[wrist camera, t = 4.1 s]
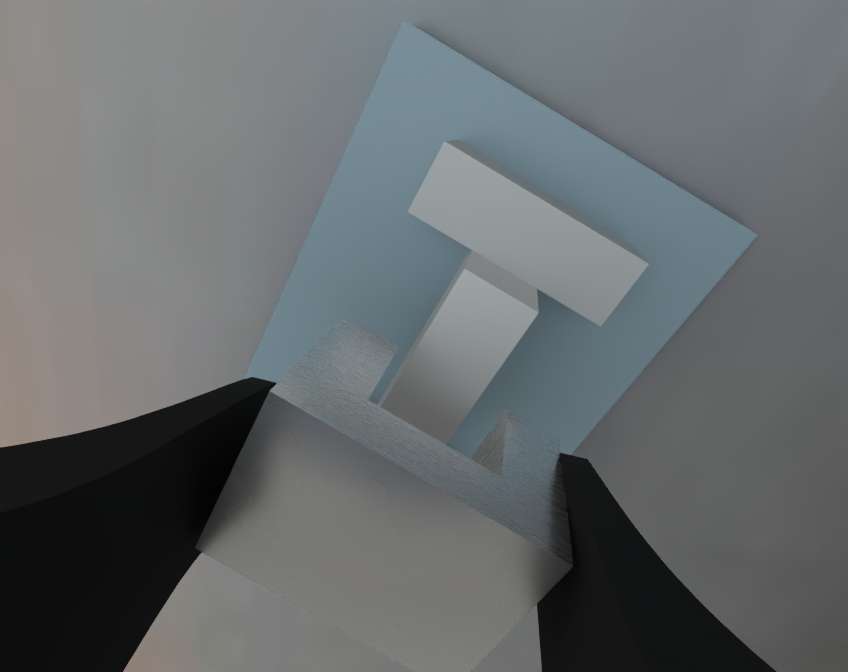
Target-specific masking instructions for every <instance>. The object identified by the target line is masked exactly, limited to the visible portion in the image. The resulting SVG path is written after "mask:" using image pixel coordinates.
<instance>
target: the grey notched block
mask: <svg viewBox="0 0 848 672" xmlns="http://www.w3.org/2000/svg"><path fill="white" fill-rule="evenodd" d="M398 348H399V346H397V345H396V344H394V343H392V342H391V341H389V340H387V339H385V338H384V337H382V336H380V335H379V334H377V333H375V332H374V331H372V330H370V329H368V328H367V327H365V326H363V325H362V324H360V323H358V322H356V321H355V320H353V319H351V318H350V317H348V316H346V315H345V316H344V317H343V318H342V319H341V320H340V321H339V322H338V323H337V324H336V325H335V326H334V327H333V328H332V329H331V330H330V331H329V332H328V333H327V334H326V335H325V336H324V337H323V338H322V339H321V340H320V341H319V342H318V343H317V344H316V345H315V346H314V347H313V348H312V349H311V350H310V351H309V352H308V353H307V354H306V355H305V356H304V357H303V358H302V359H301V360H300V361H299V362H298V363H297V364H296V365H295V366H294V367H293V368H292V369H291V370H290V371H289V372H288V373H287V374H286V375H285V376H284V377H283V378H282V379H281V380H280V381H279V382H278V383H277V384H276V385H275V386H274V387H273V388H272V389H271V390H270V391H269V393H268V395H267V397H266V399H265V402H264V404H263V406H262V408H261V410H260V412H259V414H258V416H257V418H256V420H255V423H254V425H253V427H252V429H251V431H250V433H249V435H248V437H247V439H246V441H245V444H244V446H243V448H242V450H241V452H240V454H239V456H238V458H237V460H236V463H235V465H234V467H233V469H232V471H231V473H230V475H229V477H228V479H227V481H226V484H225V486H224V488H223V490H222V492H221V494H220V496H219V498H218V500H217V502H216V505H215V507H214V509H213V511H212V513H211V515H210V517H209V519H208V521H207V524H206V526H205V528H204V530H203V532H202V534H201V536H200V538H199V540H198V542H197V545H196V547H195V548H196V549H198V550H199V551H201V552H203V553H205V554H207V555H208V556H210V557H212V558H214V559H215V560H217V561H219V562H221V563H222V564H224V565H226V566H228V567H230V568H231V569H233V570H235V571H237V572H238V573H240V574H242V575H244V576H245V577H247V578H249V579H251V580H253V581H254V582H256V583H258V584H260V585H261V586H263V587H265V588H267V589H269V590H270V591H272V592H274V593H276V594H277V595H279V596H281V597H283V598H284V599H286V600H288V601H290V602H292V603H293V604H295V605H297V606H299V607H300V608H302V609H304V610H306V611H307V612H309V613H311V614H313V615H315V616H316V617H318V618H320V619H322V620H323V621H325V622H327V623H329V624H331V625H332V626H334V627H336V628H338V629H339V630H341V631H343V632H345V633H346V634H348V635H350V636H352V637H354V638H355V639H357V640H359V641H361V642H362V643H364V644H366V645H368V646H369V647H371V648H373V649H375V650H377V651H378V652H380V653H382V654H384V655H385V656H387V657H389V658H391V659H393V660H394V661H396V662H398V663H400V664H401V665H403V666H405V667H407V668H408V669H410V670H412V671H414V672H471V670H472V669H473V668H474V667H475V666H476V665H477V664H478V663H479V662H480V661H481V660H482V659H483V658H484V657H485V656H486V655H487V654H488V653H489V652H490V651H491V650H492V649H493V648H494V647H495V646H496V645H497V644H498V643H499V642H500V641H501V640H502V639H503V638H504V637H505V636H506V635H507V634H508V633H509V632H510V631H511V630H512V629H513V628H514V627H515V626H516V625H517V623H518V622H519V621H520V620H521V619H522V618H523V617H524V616H525V615H526V614H527V613H528V612H529V611H530V610H531V609H532V608H533V607H534V606H535V605H536V604H537V603H538V602H539V601H540V600H541V599H542V598H543V597H544V596H545V595H546V594H547V593H548V592H549V591H550V590H551V589H552V588H553V587H554V586H555V585H556V584H557V583H558V582H559V581H560V580H561V579H562V578H563V576H564V575H565V574H566V573H567V572H568V571H569V570H570V569H571V568H572V567H573V558H572V549H571V540H570V531H569V522H568V513H567V503H566V495H565V490H564V485H563V480H562V470H561V461H560V453H561V449H560V440H558V439H556V438H555V437H553V436H551V435H550V434H548V433H546V432H544V431H543V430H541V429H539V428H538V427H536V426H534V425H532V424H531V423H529V422H527V421H526V420H524V419H522V418H521V417H519V416H517V415H515V414H514V413H512V412H510V411H509V410H507V409H506V411H505V412H504V413H503V415H502V416H501V417H500V419H499V420H498V422H497V423H496V424H495V426H494V427H493V428H492V430H491V431H490V432H489V434H488V435H487V436H486V438H485V439H484V440H483V442H482V443H481V444H480V446H479V447H478V449H477V450H476V451H475V453H474V454H473V455H472V457H471V458H468V457H466V456H464V455H463V454H461V453H459V452H457V451H456V450H454V449H452V448H451V447H449V446H447V445H445V444H444V443H442V442H440V441H439V440H437V439H435V438H433V437H432V436H430V435H428V434H426V433H425V432H423V431H421V430H420V429H418V428H416V427H414V426H413V425H411V424H409V423H408V422H406V421H404V420H402V419H401V418H399V417H397V416H395V415H394V414H392V413H390V412H389V411H387V410H385V409H383V408H382V407H380V406H378V405H377V404H375V403H373V402H371V401H370V400H368V399H369V398H370V396H371V394H372V392H373V391H374V389H375V387H376V386H377V384H378V382H379V380H380V379H381V377H382V375H383V374H384V372H385V370H386V368H387V367H388V365H389V363H390V362H391V360H392V358H393V357H394V355H395V353H396V351H397V350H398Z"/></svg>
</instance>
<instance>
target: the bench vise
mask: <svg viewBox="0 0 848 672" xmlns="http://www.w3.org/2000/svg"><path fill="white" fill-rule="evenodd" d="M757 236H758V234H756V233H755V232H753V231H751V230H750V229H748V228H746V227H745V226H743V225H741V224H740V223H738V222H736V221H735V220H733V219H731V218H730V217H728V216H726V215H725V214H723V213H722V212H720V211H718V210H717V209H715V208H713V207H712V206H710V205H708V204H707V203H705V202H703V201H702V200H700V199H698V198H697V197H695V196H694V195H692V194H690V193H689V192H687V191H685V190H684V189H682V188H680V187H679V186H677V185H675V184H674V183H672V182H670V181H669V180H667V179H665V178H664V177H662V176H661V175H659V174H657V173H656V172H654V171H652V170H651V169H649V168H647V167H646V166H644V165H642V164H641V163H639V162H637V161H636V160H634V159H633V158H631V157H629V156H628V155H626V154H624V153H623V152H621V151H619V150H618V149H616V148H614V147H613V146H611V145H609V144H608V143H606V142H605V141H603V140H601V139H600V138H598V137H596V136H595V135H593V134H591V133H590V132H588V131H586V130H585V129H583V128H581V127H580V126H578V125H576V124H575V123H573V122H572V121H570V120H568V119H567V118H565V117H563V116H562V115H560V114H558V113H557V112H555V111H553V110H552V109H550V108H548V107H547V106H545V105H544V104H542V103H540V102H539V101H537V100H535V99H534V98H532V97H530V96H529V95H527V94H525V93H524V92H522V91H520V90H519V89H517V88H516V87H514V86H512V85H511V84H509V83H507V82H506V81H504V80H502V79H501V78H499V77H497V76H496V75H494V74H492V73H491V72H489V71H487V70H486V69H484V68H483V67H481V66H479V65H478V64H476V63H474V62H473V61H471V60H469V59H468V58H466V57H464V56H463V55H461V54H459V53H458V52H456V51H455V50H453V49H451V48H450V47H448V46H446V45H445V44H443V43H441V42H440V41H438V40H436V39H435V38H433V37H431V36H430V35H428V34H426V33H425V32H423V31H422V30H420V29H418V28H417V27H415V26H413V25H412V24H410V23H408V22H407V21H405V20H403V21H402V23H401V25H400V28H399V30H398V32H397V34H396V37H395V39H394V41H393V43H392V46H391V48H390V50H389V52H388V55H387V57H386V59H385V61H384V64H383V66H382V68H381V71H380V73H379V75H378V77H377V80H376V82H375V84H374V86H373V89H372V91H371V93H370V95H369V98H368V100H367V102H366V104H365V107H364V109H363V111H362V113H361V116H360V118H359V120H358V122H357V125H356V127H355V129H354V131H353V134H352V136H351V138H350V140H349V143H348V145H347V147H346V149H345V152H344V154H343V156H342V158H341V161H340V163H339V165H338V167H337V170H336V172H335V174H334V176H333V179H332V181H331V183H330V186H329V188H328V190H327V192H326V195H325V197H324V199H323V201H322V204H321V206H320V208H319V210H318V213H317V215H316V217H315V219H314V222H313V224H312V226H311V228H310V231H309V233H308V235H307V237H306V240H305V242H304V244H303V246H302V249H301V251H300V253H299V255H298V258H297V260H296V262H295V264H294V267H293V269H292V271H291V273H290V276H289V278H288V280H287V282H286V285H285V287H284V289H283V291H282V294H281V296H280V298H279V301H278V303H277V305H276V307H275V310H274V312H273V314H272V316H271V319H270V321H269V323H268V325H267V328H266V330H265V332H264V334H263V337H262V339H261V341H260V343H259V346H258V348H257V350H256V352H255V355H254V357H253V359H252V361H251V364H250V366H249V368H248V370H247V373H246V375H245V377H244V379H247V378H250V377H255V378H259V379H263V380H267V381H271V382H276V384H277V383H278V382H279V381H280V380H281V379H282V378H283V377H284V376H285V375H286V374H287V373H288V372H289V371H290V370H291V369H292V368H293V367H294V366H295V365H296V364H297V363H298V362H299V361H300V360H301V359H302V358H303V357H304V356H305V355H306V354H307V353H308V352H309V351H310V350H311V349H312V348H313V347H314V346H315V345H316V344H317V343H318V342H319V341H320V340H321V339H322V338H323V337H324V336H325V335H326V334H327V333H328V332H329V331H330V330H331V329H332V328H333V327H334V326H335V325H336V324H337V323H338V322H339V321H340V320H341V319H342V318H343V317H344V316H345V315H346V316H348V317H350V318H351V319H353V320H355V321H356V322H358V323H360V324H362V325H363V326H365V327H367V328H368V329H370V330H372V331H374V332H375V333H377V334H379V335H380V336H382V337H384V338H385V339H387V340H389V341H391V342H392V343H394V344H396V345H397V346H399V348H398V350H397V351H396V353H395V355H394V357H393V358H392V360H391V362H390V363H389V365H388V367H387V368H386V370H385V372H384V374H383V375H382V377H381V379H380V380H379V382H378V384H377V386H376V387H375V389H374V391H373V392H372V394H371V396H370V398H369V399H368V400H370V401H371V402H373V403H375V404H377V405H378V406H380V407H382V408H383V409H385V410H387V411H389V412H390V413H392V414H394V415H395V416H397V417H399V418H401V419H402V420H404V421H406V422H408V423H409V424H411V425H413V426H414V427H416V428H418V429H420V430H421V431H423V432H425V433H426V434H428V435H430V436H432V437H433V438H435V439H437V440H439V441H440V442H442V443H444V444H445V445H447V446H449V447H451V448H452V449H454V450H456V451H457V452H459V453H461V454H463V455H464V456H466V457H468V458H471V457H472V455H473V454H474V453H475V451H476V450H477V449H478V447H479V446H480V444H481V443H482V442H483V440H484V439H485V438H486V436H487V435H488V434H489V432H490V431H491V430H492V428H493V427H494V426H495V424H496V423H497V422H498V420H499V419H500V417H501V416H502V415H503V413H504V412H505V411H506V409H507V410H509V411H510V412H512V413H514V414H515V415H517V416H519V417H521V418H522V419H524V420H526V421H527V422H529V423H531V424H532V425H534V426H536V427H538V428H539V429H541V430H543V431H544V432H546V433H548V434H550V435H551V436H553V437H555V438H556V439H558V440H560V449H561V453H564V454H568V455H571V454H572V453H573V452H574V451H575V450H576V448H577V447H578V446H579V445H580V444H581V443H582V441H583V440H584V439H585V438H586V437H587V436H588V434H589V433H590V432H591V431H592V430H593V428H594V427H595V426H596V425H597V424H598V423H599V421H600V420H601V419H602V418H603V417H604V416H605V414H606V413H607V412H608V411H609V410H610V409H611V407H612V406H613V405H614V404H615V403H616V401H617V400H618V399H619V398H620V397H621V396H622V394H623V393H624V392H625V391H626V390H627V389H628V387H629V386H630V385H631V384H632V383H633V381H634V380H635V379H636V378H637V377H638V376H639V374H640V373H641V372H642V371H643V370H644V369H645V367H646V366H647V365H648V364H649V363H650V361H651V360H652V359H653V358H654V357H655V356H656V354H657V353H658V352H659V351H660V350H661V349H662V347H663V346H664V345H665V344H666V343H667V342H668V340H669V339H670V338H671V337H672V336H673V334H674V333H675V332H676V331H677V330H678V329H679V327H680V326H681V325H682V324H683V323H684V322H685V320H686V319H687V318H688V317H689V316H690V314H691V313H692V312H693V311H694V310H695V309H696V307H697V306H698V305H699V304H700V303H701V302H702V300H703V299H704V298H705V297H706V296H707V295H708V293H709V292H710V291H711V290H712V289H713V287H714V286H715V285H716V284H717V283H718V282H719V280H720V279H721V278H722V277H723V276H724V275H725V273H726V272H727V271H728V270H729V269H730V267H731V266H732V265H733V264H734V263H735V262H736V260H737V259H738V258H739V257H740V256H741V255H742V253H743V252H744V251H745V250H746V249H747V247H748V246H749V245H750V244H751V243H752V242H753V240H754V239H755V238H756V237H757Z"/></svg>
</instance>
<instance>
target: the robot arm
mask: <svg viewBox="0 0 848 672" xmlns="http://www.w3.org/2000/svg"><path fill="white" fill-rule="evenodd" d="M275 385H276V382H271V381H267V380H263V379H259V378H255V377H250V378H247V379H243V380H240V381H237V382H234V383H232V384H229V385H226V386H223V387H221V388H218V389H216V390H213V391H210V392H208V393H205V394H202V395H200V396H197V397H194V398H192V399H189V400H186V401H183V402H181V403H178V404H175V405H172V406H169V407H166V408H163V409H160V410H157V411H154V412H151V413H148V414H145V415H142V416H139V417H136V418H133V419H130V420H127V421H123V422H120V423H116V424H113V425H109V426H105V427H101V428H97V429H93V430H89V431H85V432H81V433H77V434H73V435H68V436H63V437H58V438H52V439H47V440H42V441H36V442H31V443H26V444H20V445H15V446H8V447H2V448H0V672H123V671H124V669H125V667H126V666H127V664H128V662H129V661H130V659H131V657H132V656H133V654H134V653H135V651H136V649H137V648H138V646H139V644H140V643H141V641H142V639H143V638H144V636H145V635H146V633H147V631H148V630H149V628H150V626H151V625H152V623H153V622H154V620H155V618H156V617H157V615H158V614H159V612H160V611H161V609H162V608H163V606H164V605H165V603H166V601H167V600H168V598H169V597H170V595H171V594H172V592H173V591H174V589H175V587H176V586H177V584H178V583H179V581H180V580H181V579H182V577H183V576H184V575H185V573H186V572H187V570H188V569H189V568H190V566H191V565H192V564H193V562H194V561H195V560H196V559H197V557H198V556H199V555H200V554H201V551H199V550H198V549H196V548H195V547H196V545H197V542H198V540H199V538H200V536H201V534H202V532H203V530H204V528H205V526H206V524H207V521H208V519H209V517H210V515H211V513H212V511H213V509H214V507H215V505H216V502H217V500H218V498H219V496H220V494H221V492H222V490H223V488H224V486H225V484H226V481H227V479H228V477H229V475H230V473H231V471H232V469H233V467H234V465H235V463H236V460H237V458H238V456H239V454H240V452H241V450H242V448H243V446H244V444H245V441H246V439H247V437H248V435H249V433H250V431H251V429H252V427H253V425H254V423H255V420H256V418H257V416H258V414H259V412H260V410H261V408H262V406H263V404H264V402H265V399H266V397H267V395H268V393H269V391H270V390H271V389H272V388H273V387H274V386H275ZM560 461H561V470H562V480H563V485H564V490H565V495H566V503H567V513H568V522H569V531H570V540H571V549H572V558H573V567H572V568H571V569H570V570H569V571H568V572H567V573H566V574H565V575H564V576H563V578H562V579H561V580H560V581H559V582H558V583H557V584H556V585H555V586H554V587H553V588H552V589H551V590H550V591H549V592H548V593H547V594H546V595H545V596H544V597H543V598H542V599H541V600H540V601H539V602H538V603H537V610H538V623H539V636H540V649H541V663H542V672H776V671H775V670H774V669H773V668H771V667H770V666H769V665H768V664H767V663H766V662H764V661H763V660H762V659H761V658H760V657H759V656H757V655H756V654H755V653H754V652H753V651H752V650H750V649H749V648H748V647H747V646H746V645H745V644H744V643H743V642H742V641H741V640H740V639H738V638H737V637H736V636H735V635H734V634H733V633H732V632H731V631H730V630H729V629H728V628H726V627H725V626H724V625H723V624H722V623H721V622H720V621H719V620H718V619H717V618H716V617H715V616H714V615H713V614H712V613H711V612H710V611H709V610H708V609H707V608H706V607H705V606H704V605H703V604H702V603H701V602H700V601H699V600H698V599H697V598H696V597H695V596H694V595H693V594H692V593H691V592H690V591H689V590H688V589H687V588H686V587H685V586H684V585H683V583H682V582H681V581H680V580H679V579H678V578H677V577H676V576H675V575H674V574H673V573H672V571H671V570H670V569H669V568H668V567H667V566H666V565H665V564H664V562H663V561H662V560H661V559H660V557H659V556H658V555H657V554H656V553H655V551H654V550H653V549H652V548H651V547H650V545H649V544H648V543H647V542H646V540H645V539H644V538H643V537H642V535H641V534H640V533H639V531H638V530H637V529H636V528H635V526H634V525H633V524H632V522H631V521H630V520H629V518H628V517H627V515H626V514H625V513H624V511H623V510H622V509H621V507H620V506H619V504H618V503H617V501H616V500H615V499H614V497H613V496H612V494H611V493H610V491H609V490H608V488H607V487H606V486H605V484H604V483H603V481H602V480H601V478H600V477H599V475H598V474H597V472H596V471H595V469H594V468H593V466H592V465H591V464H590V462H589V461H588V459H584V458H580V457H576V456H572V455H568V454H564V453H560Z"/></svg>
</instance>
